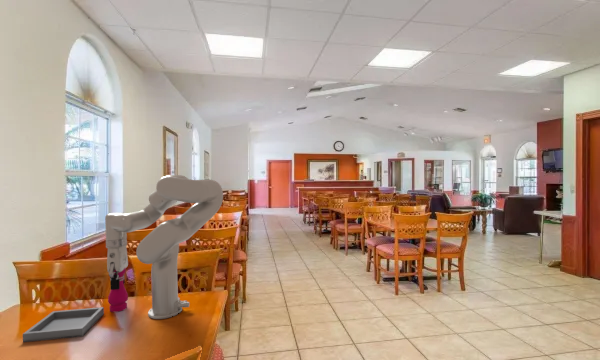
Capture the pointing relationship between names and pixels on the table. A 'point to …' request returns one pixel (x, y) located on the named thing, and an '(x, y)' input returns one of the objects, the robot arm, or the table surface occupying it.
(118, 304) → the pepper mill
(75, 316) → the serving tray
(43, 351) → the table surface
